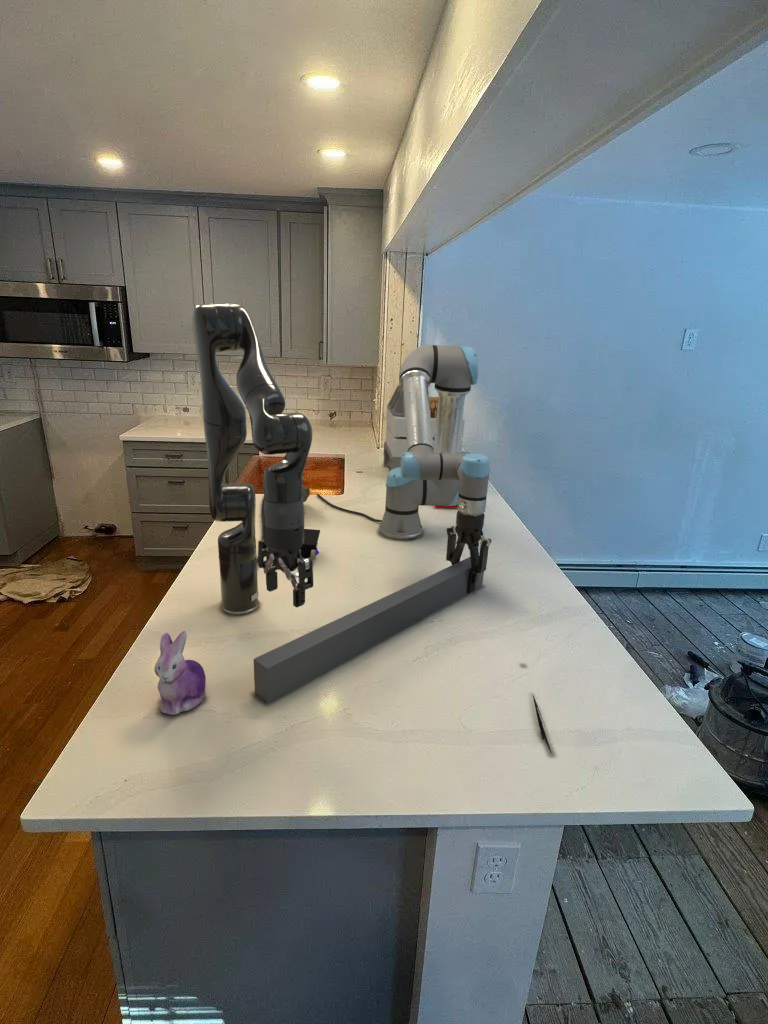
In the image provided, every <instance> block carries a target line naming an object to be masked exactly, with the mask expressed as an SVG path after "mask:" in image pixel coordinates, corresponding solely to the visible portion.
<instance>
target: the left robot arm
mask: <svg viewBox="0 0 768 1024" xmlns="http://www.w3.org/2000/svg"><path fill="white" fill-rule="evenodd" d="M192 328H193V337H194V344H195V352H196V357H197V363H198V369H199V370H198V371H199V378H200V388H201V401H202V402H201V403H202V420H203V421H202V422H203V432H204V439H205V448H206V458H207V469H208V470H207V473H208V475H207V476H208V506H209V507H208V508H209V513H210V516H211V518H212V519H213V521H215V522H218V523H219V522H221V523H224V522H226V523H227V522H229V523H230V522H240V523H238V524H237V525H235V526H234V527H231V528H229V529H226V530H224V531H222V532H221V533H220V534H219V535H218V537H217V548H218V550H217V551H218V565H219V580H220V599H221V604H220V605H221V610H222V611H223V612H224V613H226V614H229V615H234V616H240V615H247V614H250V613H253V612H254V611H256V610H257V609H258V608H259V604H260V603H259V597H260V596H259V595H260V593H259V585H258V583H259V581H258V568H260V569H263V573H264V574H265V586H266V591H267V592H269V593H270V592H274V591H276V590H278V588H279V587H278V586H279V585H278V584H279V583H278V581H279V579H278V571H280V572H282V573H284V575H285V578H286V579H287V581H290V584H291V586H292V588H293V589H292V606H293V607H295V608H299V607H300V608H301V607H303V606H304V605H305V604H306V590H309V589H311V588H313V587H314V568H313V567H314V566H313V565H314V564H313V561H312V559H311V558H310V557H309V558H306V559H305V558H303V557H302V556H301V553H300V548H301V546H302V545H303V543H304V529H305V505H304V502H303V485H304V484H303V483H304V482H303V478H304V473H305V469H306V464H307V462H308V461H307V460H308V457H309V454H310V451H311V446H312V442H313V427H312V424H311V422H310V419H309V418H308V417H307V416H306V415H305V414H304V413H302V412H285V413H283V412H284V411H285V410H286V409H285V408H286V399H285V396H284V394H283V392H282V391H281V388H280V387H279V385H278V383H277V381H276V380H275V378H274V376H273V375H272V372H271V371H270V368H269V367H268V363H267V361H266V358H265V355H264V352H263V349H262V345H261V343H260V340H259V337H258V333H257V331H256V329H255V325H254V323H253V320H252V318H251V315H250V314H249V312H248V310H247V309H246V307H244V305H242V304H240V303H235V302H233V303H232V302H230V303H229V302H228V303H207V304H197V305H196V306H195V307H194V309H193V313H192ZM239 350H241V351H242V352H243V356H242V359H241V362H240V363H239V366H238V369H237V373H236V378H235V379H236V380H235V381H236V388H237V391H238V394H239V395H240V397H239V395H238V394H237V393H236V391H235V390H234V389H233V388H232V387H231V386H230V385H229V383H228V381H227V380H226V379H225V377H224V375H223V374H222V372H221V371H220V368H219V366H218V362H217V357H216V355H217V353H222V352H234V351H239ZM241 399H242V400H241ZM246 410H247V411H246ZM247 412H248V416H249V421H250V427H251V428H250V429H251V439H252V444H253V446H254V448H255V449H256V450H257V451H258V452H260V453H261V454H263V455H266V456H273V455H281V454H285V455H284V457H283V459H282V460H281V461H278V462H277V463H274V464H271V465H270V466H268V467H266V468H265V469H264V471H263V498H262V503H261V513H260V514H261V528H262V529H261V532H262V536H261V539H260V540H258V542H257V537H256V536H257V535H256V508H257V507H256V506H257V504H256V503H257V501H256V500H257V499H256V491H255V488H254V486H253V484H251V483H247V482H242V483H240V482H239V483H223V481H224V478H225V475H226V473H227V471H228V469H229V467H230V465H231V463H232V462H234V461H233V460H234V459H235V458H236V456H238V454H239V453H240V451H241V449H242V448H243V446H244V444H245V443H246V439H247V438H248V437H247V436H248V430H247V427H248V426H247ZM257 545H258V546H257ZM296 570H297V572H295V571H296ZM292 572H294V573H292ZM297 578H298V581H297Z"/></svg>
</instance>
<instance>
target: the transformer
mask: <svg viewBox="0 0 768 1024" xmlns="http://www.w3.org/2000/svg"><path fill="white" fill-rule="evenodd" d="M429 403H430V414H431V425H432V436H433V447H434V440H435V429H436V418H437V407H438V396H429ZM385 414H386V415H385V423H386V428H385V438H384V442H383V466H384V467H388V468H389V471H391V470H392V469H395V468H398V467H401V457H402V454H403V453H407V438H406V422H405V407H404V391H403V389H402V388H401V386H400V384H398V385H397V386H396V388H395V390H394V392H393V394H392V395H391V398H390V400H389V402H388V404H387V405H386V413H385ZM464 429H465V419H464V418H463V420H462V429H461V438H460V447H459V451H463V442H464V441H463V440H462V439H463V438H464V431H465V430H464Z"/></svg>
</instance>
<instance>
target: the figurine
mask: <svg viewBox="0 0 768 1024" xmlns="http://www.w3.org/2000/svg"><path fill="white" fill-rule="evenodd" d="M187 635H188V634H187V632H186V631H185V630H183V631H181V632H179V634H178V635H177V636H176V638H175V639H174V640H173V639H172V637H171V635H170V633H169V632H164V633H163V634H162V635H161V636H160V640H159V641H160V642H159V652H160V654H159V657H158V658H157V660H156V662H155V665H154V668H153V669H154V674H155V676H156V677H158V683H157V690H158V693H159V695H160V699H161V703H160V712H162V713H163V714H166V715H167V714H168V715H172V716H173V715H174V716H175V715H178V714H180V713H183V712H187V711H191V710H192V709H194V708H195V707H197V706H198V705H199V704H201V703H202V702H203V701H204V700H205V696H206V686H207V685H206V684H207V683H206V682H207V681H206V680H207V677H206V671H205V670H204V667H203V666H202V665H201V663H200V662H198V661H196V660H194V659H185V657H184V655H183V652H184V649H185V647H186V646H185V645H186V642H187V637H188V636H187Z"/></svg>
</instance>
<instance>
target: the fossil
mask: <svg viewBox="0 0 768 1024" xmlns="http://www.w3.org/2000/svg"><path fill="white" fill-rule="evenodd" d="M310 491H311V490H310V488H309V486H306V485H305V484H303V503H306V502H307V501H308V499H309V497H310V495H311V492H310Z"/></svg>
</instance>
